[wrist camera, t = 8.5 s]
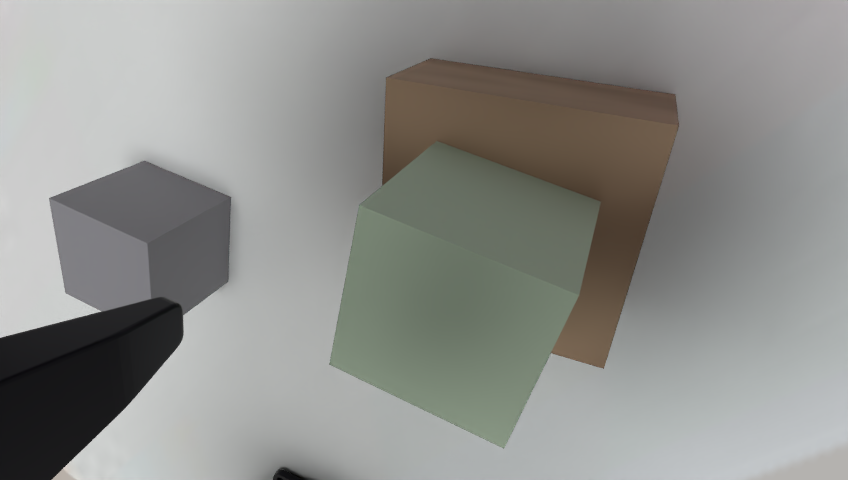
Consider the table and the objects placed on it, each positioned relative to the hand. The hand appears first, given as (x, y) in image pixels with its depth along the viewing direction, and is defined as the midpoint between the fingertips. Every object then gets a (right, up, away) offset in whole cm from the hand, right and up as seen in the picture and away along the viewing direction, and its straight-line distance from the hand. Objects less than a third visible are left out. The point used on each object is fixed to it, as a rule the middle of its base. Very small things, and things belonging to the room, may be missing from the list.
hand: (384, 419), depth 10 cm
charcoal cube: (-11, +4, +17) cm, 21 cm away
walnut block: (+4, +5, +10) cm, 12 cm away
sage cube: (+3, +3, +7) cm, 8 cm away
